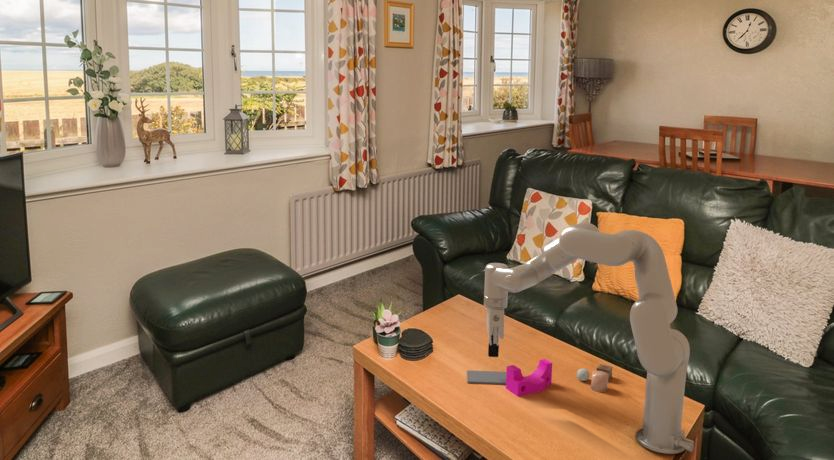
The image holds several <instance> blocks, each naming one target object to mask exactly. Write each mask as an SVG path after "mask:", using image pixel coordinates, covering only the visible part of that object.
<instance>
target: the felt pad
mask: <svg viewBox="0 0 834 460" xmlns="http://www.w3.org/2000/svg"><path fill="white" fill-rule="evenodd" d="M466 381H467V384H477V385H479V384H481V385H482V384H483V385H505V386H506V371H495V370H494V371H493V370H492V371H491V370H488V371H487V370H466Z"/></svg>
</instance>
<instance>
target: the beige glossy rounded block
mask: <svg viewBox="0 0 834 460" xmlns="http://www.w3.org/2000/svg"><path fill="white" fill-rule="evenodd" d="M608 387H609V382H608V373H606V372H603V371H597V370H593V371H592V372H591V379H590V389H591V390H592V391H594V392H597V393H605V392H607V391H608Z"/></svg>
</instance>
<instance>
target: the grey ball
mask: <svg viewBox="0 0 834 460" xmlns="http://www.w3.org/2000/svg"><path fill="white" fill-rule="evenodd" d="M576 376H577V379H578V380H579V381H581V382H586V381H588V380H589V378H590V371H589V370H588V369H587V368H580V369H578V370H577V371H576Z"/></svg>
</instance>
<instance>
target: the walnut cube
mask: <svg viewBox="0 0 834 460" xmlns="http://www.w3.org/2000/svg"><path fill="white" fill-rule="evenodd" d="M596 371H603V372H606V373H608V383H609V382H610V380H611V379H612V377H613V366H610V365H606V364H601V363H600V364H599V365H598V366H597V367H596Z"/></svg>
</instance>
